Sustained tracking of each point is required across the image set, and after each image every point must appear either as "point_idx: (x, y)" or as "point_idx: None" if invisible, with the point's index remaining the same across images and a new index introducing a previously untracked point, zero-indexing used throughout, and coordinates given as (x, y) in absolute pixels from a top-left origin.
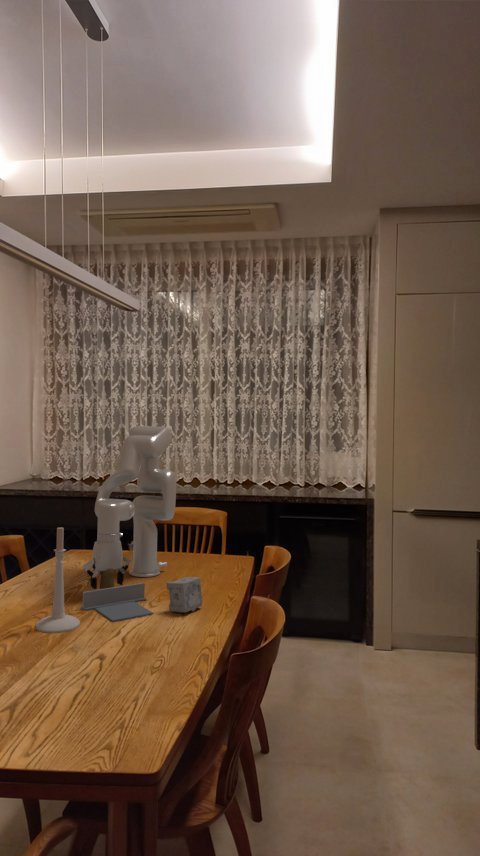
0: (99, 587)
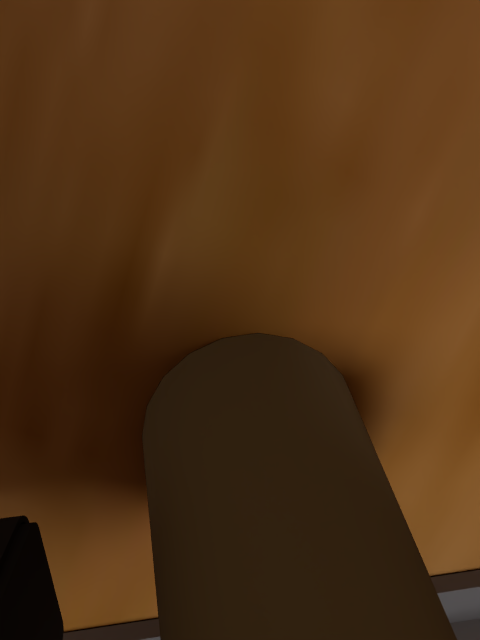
0: (157, 500)
